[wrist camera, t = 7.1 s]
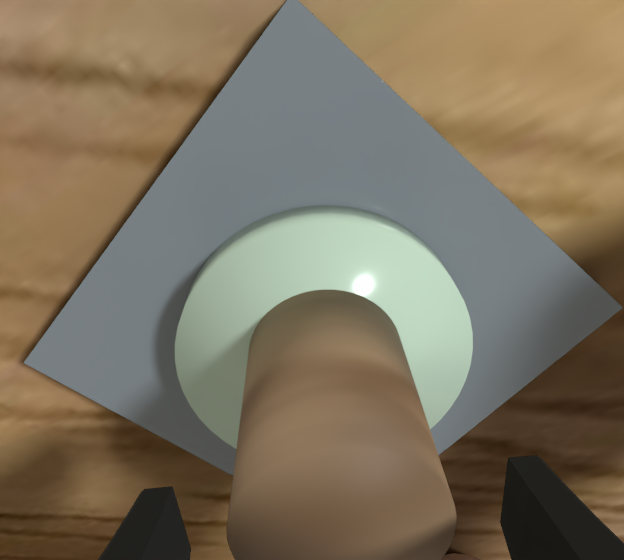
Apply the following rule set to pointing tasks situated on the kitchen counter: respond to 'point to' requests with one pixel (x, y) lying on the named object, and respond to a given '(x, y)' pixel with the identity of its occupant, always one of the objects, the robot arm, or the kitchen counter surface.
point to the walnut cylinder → (335, 441)
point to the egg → (458, 557)
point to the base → (302, 159)
